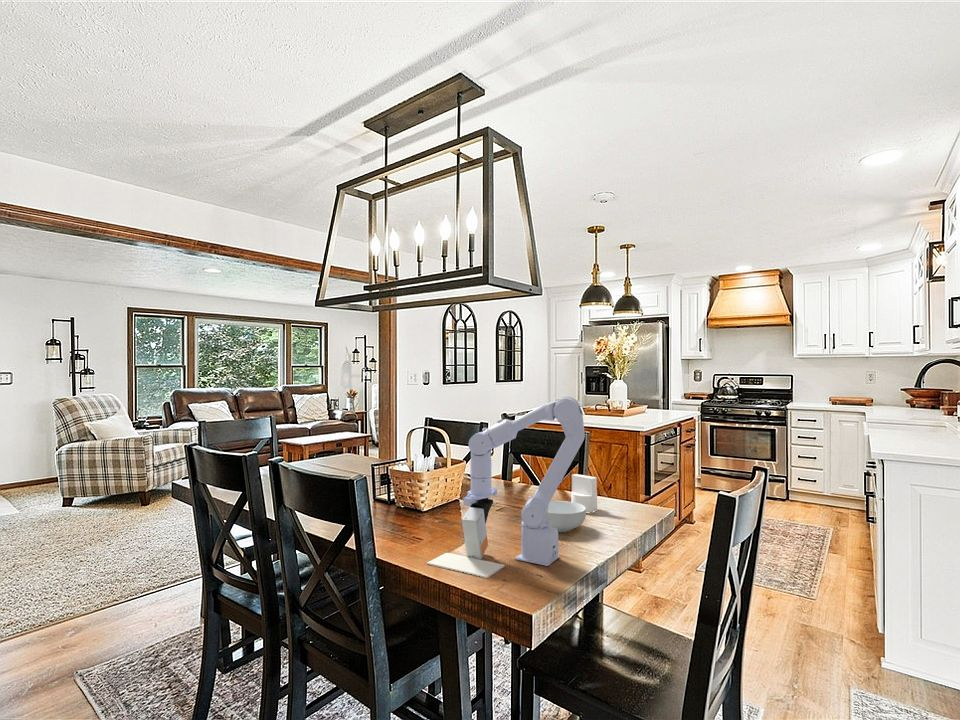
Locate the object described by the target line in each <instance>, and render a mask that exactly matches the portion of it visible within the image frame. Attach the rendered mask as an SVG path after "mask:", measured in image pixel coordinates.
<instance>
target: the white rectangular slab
mask: <svg viewBox="0 0 960 720" xmlns="http://www.w3.org/2000/svg"><path fill="white" fill-rule="evenodd" d="M426 564H427V565H429V566H432V567H437V568H442V569H445V570H449V569H450V571H453V570H455V571H454V572H458V571H459V572H458V573H462V572H464V573H463V574H466V573H467V574H468V575H470V574H472V575H471V576H475V575H476V576H475V577H479V576H480V578H484V579H488V578H490V577H491V576H493V575H494V574H496V573H497V572H499V571H500V570H502V569H504V568H505V565H506V564H501V563H498V562H497V563H496V562H493V561H488V560H484V559H483V560H482V559H475V558H470V557H467V556H465V555H460V554H455V553H451V552H445V553H444V554H441V555H440V556H439V555H438V557H435V558H433V559H431V560H429V561H428V562H426ZM467 574H466V575H467Z"/></svg>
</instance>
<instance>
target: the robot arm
mask: <svg viewBox="0 0 960 720" xmlns="http://www.w3.org/2000/svg"><path fill="white" fill-rule="evenodd" d="M555 419H556V420H557V422H558V423H559V424H560V426H561V427H562V430H563V433H564V435H565V438H564V440H563V442H562V443H561V445H560V446H559V448H558V450H557V452H556V454H555V457H554V458H553V460H552V461H551V464H550V466H549V467H548V469H547V471H546V472H545V474H544V476H543V477H542V480H541V482H540V483H539V485H538V487H537V490H536V491H535V493H534V494H533V495H531V496H530V497H529V498H528V499H527V500H526V501H525V505H523V507H522V509H521V511H520V518H521V523H520V524H521V552H520V554H518V555H517V556H515V558H514V559H515V560H517V561H522V562H527V563H531V564H536V565H542V566H546V567H547V566H550V565H551V564H552V563H554V562H555V561H557V560H558V559H559V558H560V554H559V532H558V531H557V529H556V528H553V527H551V526H549V522H548V521H547V519H546V518H545V516H546V514H547V512H548V505H549V503H550V501H552V499H553V497H554V495H555V493H556V491H557V490H558V488H559V486H560V485H561V482H562V481H563V479H564V477H565V475H566V473H567V472H568V469H569V468H570V466H571V464H572V462H573V460H575V459H574V458H576V455H577V453H578V451H579V449H580V448H581V446H582V444H583V442H584V440H585V437H586V435H585V426H584V425H585V424H584V414H583V410H582V408H581V406H580V404H579V402H578V400H577V399H575V397H574V398H573V397H571V396H565V397H564V396H563V397H562V398H560V399H559V400H554V401H551V402H547V403H544V404H542V405H540V406H538V407H536V408H535V409H533V410H531V411H529V412H528V413H525V414H524V415H522V416H519V417H518V418H516V419H515V420H511V419H508V418H505V419H502V418H500V419H498V420H497V421H496V422H497V423H495V424H493V425H491V426H490V427H484V428H482V429H481V430H482V431H479V432H477V433H474V434H473V435H472V436H471V437H470V438H469V440H468V449H469V451H470V462H469V463H470V475H469V477H470V490H468V491H466V493H467V495H466V496H465V497H463V498H462V499H463V500H462V501H463V503H462V504H463V506H467V507H469V508H470V507H473V508H482V509H484V517H485V524H487V521H488V516H489V513H490V510H491V507H492V506H493V504H494V500H493V499H490V498H492V496H497V495H498V487H492V449H496V448H498V447H500V446H502V445H504V444H506V443H509V442H510V441H512V440H514V439H516V438H517V434H518V432H519V431H522V430H524V429H526V428H528V427H529V426H530V427H531V426H533V425H535V424H536V423H540V422H541V421H543V420H546V421H554V420H555Z"/></svg>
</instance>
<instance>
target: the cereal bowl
mask: <svg viewBox="0 0 960 720" xmlns="http://www.w3.org/2000/svg"><path fill="white" fill-rule="evenodd" d="M586 516H587V514H586V507H585V506H583V505H581V504H578V503H574V502H571V501H567V500H551V501H550V503H549V505H548V512H547V514H546V516H545V518H546V519H547V521H548V522H549V526H551V527H553V528H556V529H557V531H558V533H568V532H570V531H572V530H573V529H576V528H578V527H580V526H581V525H582V524H583V523H584V522H585V520H586ZM567 531H568V532H567Z"/></svg>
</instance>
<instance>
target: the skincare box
mask: <svg viewBox="0 0 960 720" xmlns="http://www.w3.org/2000/svg"><path fill="white" fill-rule="evenodd" d="M486 524H487V523H486ZM486 524H485V517H484V509H482V508H473V507H470V506H469V508H468V510H466V512H465V514H464V515H463V517H462V518H461V525H462V526H461V527H462V532H463V539H464V547H465V551H466V552H465V553H466V557H470V558H475V559H479V560H482V559H483V557H484V555H485V553H486V551H487V550H488V548H489V541H488V533H487V532H488V531H487V527H486V526H487V525H486Z"/></svg>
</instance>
